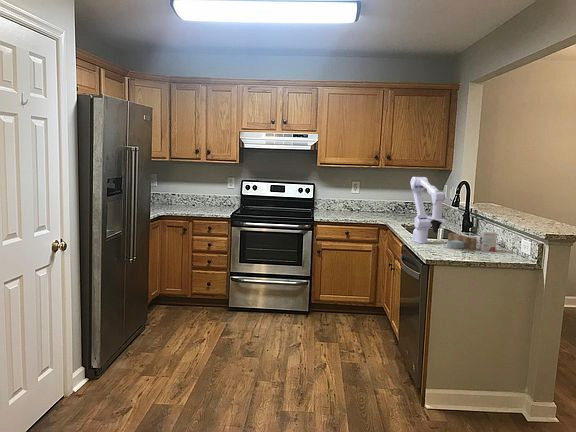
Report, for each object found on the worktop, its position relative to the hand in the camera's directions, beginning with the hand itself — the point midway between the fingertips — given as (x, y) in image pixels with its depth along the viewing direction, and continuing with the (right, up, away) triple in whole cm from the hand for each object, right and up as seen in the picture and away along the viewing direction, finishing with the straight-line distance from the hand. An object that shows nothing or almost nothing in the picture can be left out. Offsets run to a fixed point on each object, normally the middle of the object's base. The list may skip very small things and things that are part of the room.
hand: (435, 232), depth 299 cm
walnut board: (+18, -9, +5) cm, 21 cm away
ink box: (+31, -11, -3) cm, 33 cm away
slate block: (+14, -10, +3) cm, 17 cm away
